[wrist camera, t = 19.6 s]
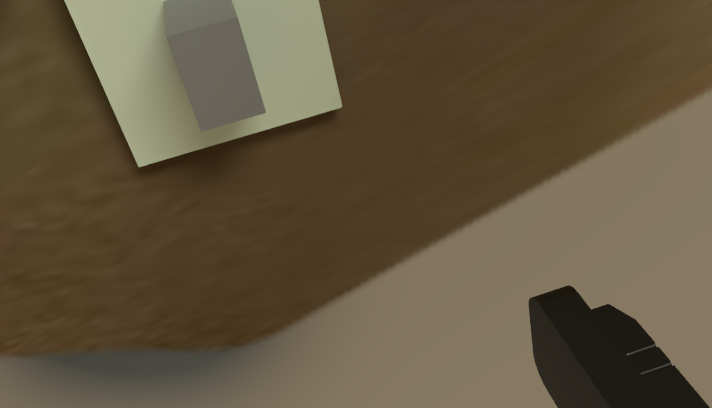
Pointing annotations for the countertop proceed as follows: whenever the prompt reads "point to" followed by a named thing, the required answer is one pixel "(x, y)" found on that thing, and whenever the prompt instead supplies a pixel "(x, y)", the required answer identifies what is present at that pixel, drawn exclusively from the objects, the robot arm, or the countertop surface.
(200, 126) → the snap lid
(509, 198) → the countertop surface
